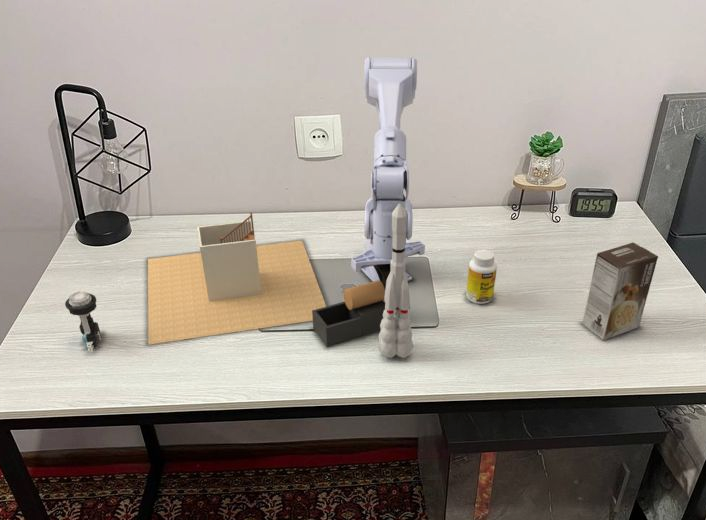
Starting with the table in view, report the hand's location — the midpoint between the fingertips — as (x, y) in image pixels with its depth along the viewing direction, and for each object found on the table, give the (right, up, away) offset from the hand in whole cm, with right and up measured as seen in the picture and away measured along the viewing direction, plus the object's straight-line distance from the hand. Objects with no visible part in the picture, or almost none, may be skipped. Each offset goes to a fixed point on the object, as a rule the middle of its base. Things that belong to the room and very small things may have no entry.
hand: (387, 293), depth 134 cm
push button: (-56, -10, -3) cm, 57 cm away
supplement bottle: (+19, 0, +10) cm, 21 cm away
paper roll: (-5, 0, -2) cm, 5 cm away
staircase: (-32, +2, +13) cm, 35 cm away
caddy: (-7, -7, +1) cm, 10 cm away
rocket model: (+1, -11, -5) cm, 13 cm away
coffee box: (+43, -6, +2) cm, 44 cm away
